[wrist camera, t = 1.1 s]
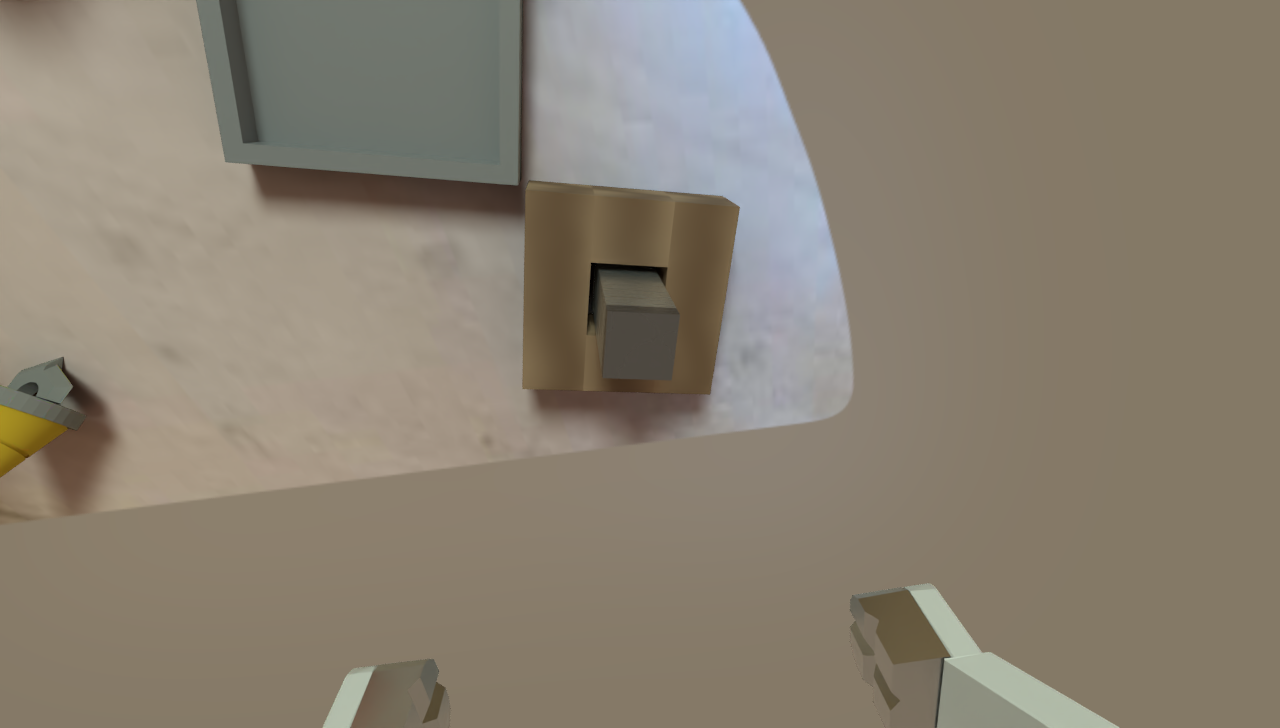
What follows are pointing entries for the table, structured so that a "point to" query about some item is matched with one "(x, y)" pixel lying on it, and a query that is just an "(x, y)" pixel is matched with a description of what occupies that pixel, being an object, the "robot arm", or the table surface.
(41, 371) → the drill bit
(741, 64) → the table surface
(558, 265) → the hitch block
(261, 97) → the tray
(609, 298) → the metal pin
